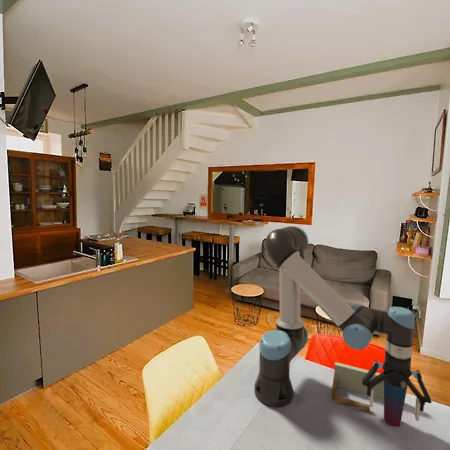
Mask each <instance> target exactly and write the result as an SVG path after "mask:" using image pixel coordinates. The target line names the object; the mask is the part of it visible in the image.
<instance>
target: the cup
mask: <svg viewBox="0 0 450 450" xmlns="http://www.w3.org/2000/svg"><path fill="white" fill-rule="evenodd" d="M407 390H408V385H406V383H405V382H404V381H402V382H399V381H397V380H391V379H390V378H388V379H387V380H384V399H383V420H384V421H385V423H386V424H387V425H389V426H390V427H394V428H399V427H400V426H401V424H402V419H403V418H402V417H403V412H404V407H405V401H406V395H407V392H408V391H407Z"/></svg>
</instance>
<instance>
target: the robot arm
mask: <svg viewBox="0 0 450 450" xmlns="http://www.w3.org/2000/svg"><path fill="white" fill-rule="evenodd" d="M308 246H309V238H308V235H307V233H306V231H304V229H302V228H301V227H299V226H293V225H291V226H285V227H282V228H276V229H273V230H272V231H271V232H269V233H268V235H267V236H266V238H265V241H264V248H265V251H266V254H267V256H268V257H269V259H270V260H271V262H272V263H273V264H274V265H275V266H276V267H277V268H278V269H279V275H278V276H279V284H278V285H279V317H278V318H277V319H276V321H275V329H272V331H271V330H268V331H266V332H264V333H263V334H262V335H261V338H260V341H259V345H258V346H259V361H258V364H259V370H258V371H259V372H258V375H257V377H256V379H255V383H254V386H253V387H254V391H253V392H254V396H255V397H256V399H257V400H258V401H260V402H261V403H262V404H263V405H266V406H269V407H272V408H280V407H285V406H287V405H289V404H290V403H291V402H292V401H293V399H294V388H293V384H292V381H291V378H290V369H291V367H290V366H291V362H292V360H293V359H294V358H295V357H296V356H297V355H298V354H299V353H300V352H301V351H302V350H303V349H304V348H305V346H306V344H308V343H307V342H308V341H309V340H308V339H309V334H308V330H307V328H306V327H305V322H304V320H302V318H301V290H303V292H304V293H306V295H308V297H309V298H310V299H311V300H312V301H313V302H314V303H315V305H317V306H318V307H319V308H320V309H321V310H322V312H324V313H325V314H326V315H327V316H328V318H329V319H330V320H331V321H332V322H334V324H335V326H337V327H338V329H339V330H340V331H342V338H343V340H344V342H345V344H346V345H347V346H348V347H350V348H352V349H355V350H363V349H365V348H367V346H368V345H369V344H370V343H371V341H372V339H373V336H374V334H375V333H379V334H382V335H386V338H385V340H386V341H385V351H384V362H383V363H381V362H379V361H378V360H376V359H375V360H374V361H373V363H372V366H371V368H370V369H368V370H369V371H368V373H367V374H366V375H365V376H364V378H363V379H362V384H363V385H364V386H367V394H366V395H367V397H369V405H370V408H373V405H374V404H373V403H374V396H373V393H374V386H376V385H377V384H379V383H381V382H382V381H384V380H387V379H388V378H390V379H391V380H397V381H399V382H402V381H404V382H405V383H406V385H407V388H409V389H410V390H411V392H412V393H413V394H414V396H415V406H414V407H415V408H414V418H415V421H417V422H419V421H420V420H419V419H420V412H424V410H425V405H426V403H428V404H431V403H432V398H431V396H430V394H429V392H428V390H427V388H426V386H425V384H424V381H423V380H422V379H423V377H422V373H421V371H420V370H419V369H416V370H415V371H414V370H411V366H412V356H413V354H412V353H413V343H414V335H415V321H416V319H415V318H416V316H415V314H414V312H413V311H412V310H410V309H407V308H406V307H403V306H390V307H389V308H388V311H385V310H381V309H376V308H373V307H369V306H365V305H360V304H359V305H358V304H352V305H351V306H350V305H349V304H348V303H347V301H345V300H344V299H343V298H342V297H341V296H340V295H339V294H338V293H337V291H335V289H333V288H332V287H331V286H330V284H328V283H327V282H326V281H325V279H323V278H322V277H321V276H320V275H319V274H318V273H317V272H316V271H315V270H314V269H313V268H312V267H311V266H310V265H309V264H308V263H307V262H306V261H305V250H306V249H307V247H308ZM380 369H383V370H382V371H381V373H380V374H379V375H378V376H376V377H374V378H373V379H371V378H372V377H373V376H374V374H375V373H378V372H377V371H379V370H380ZM412 376H413V378H414V379H416V380H417V383H418V386H419V389H421V392H422V393H423V394H422V393H421V392H420V391H419V390H418V388H417V387H416V385H415V384H414V383H413V382H412V381H411V379H410V377H412ZM370 379H371V380H370Z"/></svg>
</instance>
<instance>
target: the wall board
mask: <svg viewBox="0 0 450 450" xmlns="http://www.w3.org/2000/svg"><path fill="white" fill-rule="evenodd" d="M369 370H370V369H366V368H365V369H364V368H360V367H356V366H352V365H349V364H345V363H340V362H337V361H335V362H334V371H333V372H334V373H333V375H334V374H337V375H338V386H337V387H338V388H344V389H347V390H349V391H353V392H357V393H360V394H364V395H367V386H364V385H363V384H362V379H363V378H364V376H365V375H366V374H367V373H368V371H369ZM379 374H381V373H380V372H376V373H375V374H374V376H373V377H372V378H371V379H373V378H374V377H376V376H378V375H379ZM371 379H370V380H371ZM373 398H378V399H381V400H384V381H382V382H381V383H379V384H377V385H376V386H374V393H373Z"/></svg>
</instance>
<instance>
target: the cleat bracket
mask: <svg viewBox="0 0 450 450" xmlns="http://www.w3.org/2000/svg"><path fill="white" fill-rule="evenodd" d="M338 387H339V386H338V375H337V374H334V373H333V380H332V387H331V400H330V401H331V402H333V403H335V404H336V403H337V404H340V405H342V406H345V407H347V408H352V409H355V410H359V411H361V412H365V413H368V414H370V410H371V407H370V404H367V403H365V402H360V401H357V400H354V399H350V398H348V397H344V396H341V395H338V394H337V392H338Z"/></svg>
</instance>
